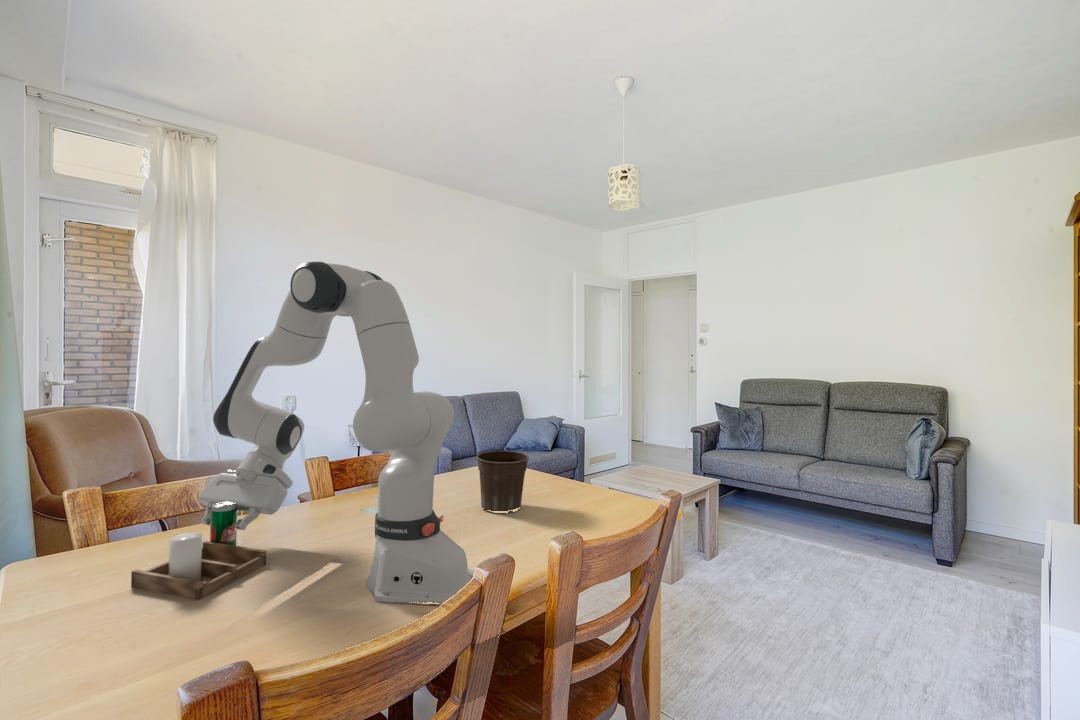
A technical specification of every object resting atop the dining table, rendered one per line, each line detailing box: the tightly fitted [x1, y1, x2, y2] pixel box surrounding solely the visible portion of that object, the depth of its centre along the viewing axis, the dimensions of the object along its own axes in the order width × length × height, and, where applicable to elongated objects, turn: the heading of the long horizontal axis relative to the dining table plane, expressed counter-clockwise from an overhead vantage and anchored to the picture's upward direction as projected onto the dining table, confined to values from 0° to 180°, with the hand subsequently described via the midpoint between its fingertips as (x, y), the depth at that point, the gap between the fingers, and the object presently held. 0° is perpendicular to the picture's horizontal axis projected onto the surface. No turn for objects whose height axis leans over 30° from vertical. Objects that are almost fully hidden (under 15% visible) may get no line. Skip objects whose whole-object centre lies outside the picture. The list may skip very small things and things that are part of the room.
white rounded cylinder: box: [168, 532, 203, 581], centre depth 96 cm, size 5×5×9 cm
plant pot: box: [476, 450, 530, 511], centre depth 152 cm, size 16×16×16 cm
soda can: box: [209, 501, 238, 546], centre depth 112 cm, size 5×5×12 cm
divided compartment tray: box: [130, 540, 267, 601], centre depth 100 cm, size 16×16×4 cm
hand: (221, 526), depth 111 cm, fingers open, 8 cm apart
